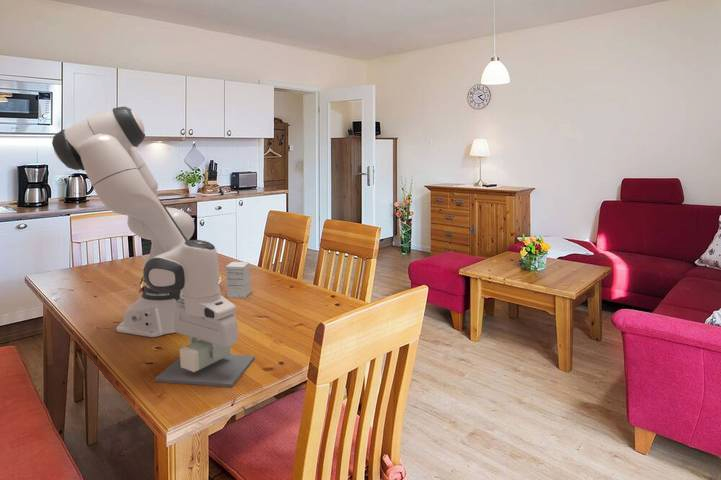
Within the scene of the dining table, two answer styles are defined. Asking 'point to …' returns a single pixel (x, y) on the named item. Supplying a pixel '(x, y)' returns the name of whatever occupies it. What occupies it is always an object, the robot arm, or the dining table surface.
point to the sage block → (200, 355)
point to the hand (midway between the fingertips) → (206, 354)
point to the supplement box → (238, 279)
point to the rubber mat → (208, 372)
